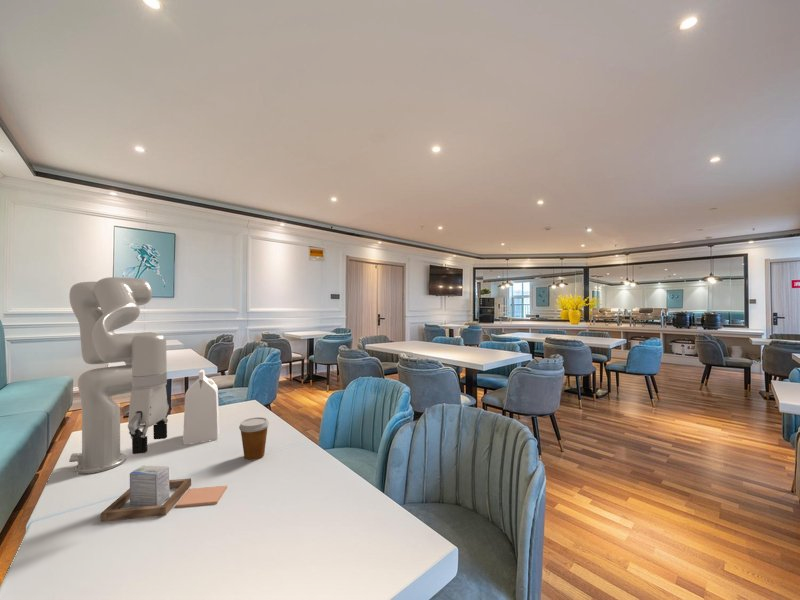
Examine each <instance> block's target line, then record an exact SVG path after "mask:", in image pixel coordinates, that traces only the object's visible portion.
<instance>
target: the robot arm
mask: <svg viewBox="0 0 800 600" xmlns="http://www.w3.org/2000/svg"><path fill="white" fill-rule="evenodd" d="M152 297H153V289H152V286H151V284H150V283H149V282H148V281H147V280H145V279H143V278H138V277H137V278H135V277H120V276H119V277H118V276H117V277H116V276H115V277H114V276H112V277H109V276H108V277H105V278H101V279H99V280H97V281H83V282H77V283H75V284H73V285H72V286H71V287H70V290H69V298H68V299H69V304H70V306H71V309H72V312H73V314H74V316H75V318H76V319H77V322H78V325H79V336H80V337H79V338H80V347H81V348H80V350H81V356H82V360H83V362H84V363H85V364H88V365H102V364H103V365H104V364H115V363H123V362H124V364H122V365H116V366H114V365H112V366H107V367H106V366H105V367H99V368H98V367H97V368H92V369H89V370H87V371H84V372H83V373H81V375H80V376H78V380H77V387H78V392H79V393H78V394H79V396H80V397H79V399H80V405H81V452H74V453H73V452H72V453H71V455H70V457H69V459H68V461H69V463H73V462H74V463H75V462H77V465H76V466H75V470H76V471H75V472H76V473H77V472H78V474H81V473H88V474H95V472H96V473H100V471H101V472H105V471H107V470H110V469H114V468H116V467H118V466H121V465H122V464H123V463H125V461H126V460H127V455H126V453H125V454H124V453H121V408H120V406H119V404H118V403H117V402H116V401H114V400H113V399H111V397H113V396H117V395H122V394H123V395H124V394H128V393H130V399H129V407H128V408H129V409H128V424H127V429H128V431H129V432H128V434H129V435H130V439H131V448H132V449H131V451H132V452H131V453H132V454H133V455H137V454H138V455H139V454H146V453H147V452H148V435H147V432H148V430H149V428H150V427H153V428H152V429H153V440H163V439H164V440H165V439H167V438H168V422H169V421H168V416H169V408H170V405H169V404H168V396H167V384H168V383H167V382H168V379H167V378H168V372H167V338H166V336H165V335H164V334H162V333H156V332H151V331H149V332H146V331H145V332H129V333H117V334H116V333H115V331H116V330H117V329H121V328H122V327H126V326H128V325H129V324H132V323H133V322H134V321H136V320H137V319H138V318H139V316H140V313H141V310H140V307H139V306H143V305H146V304H148V303H150V301H151V300H152ZM141 429H142V430H141Z"/></svg>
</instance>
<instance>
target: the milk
mask: <svg viewBox="0 0 800 600" xmlns="http://www.w3.org/2000/svg"><path fill="white" fill-rule="evenodd" d="M183 410H184V411H183V413H184V414H183V415H184V416H183V433H182V445H183V444H188V445H191V444H190V443H194V444H197V443H196V442H201V443H203V442H202V441H207V442H210V441H209V440H214V441H216V440H215V439H218V440H219V435H218V434H219V433H220V415H219V414H220V413H219V411H220V410H219V389H218V384H216V382H215V381H214V380H213V379H212V378H208V377H207V376H206V372H205V369H199V372H198V378H197V379H196V380H195V381H194V382H193V383H192V384H191V385H190V386H189V387H188V389H187V390H186V392H185V395H184V409H183Z"/></svg>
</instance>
